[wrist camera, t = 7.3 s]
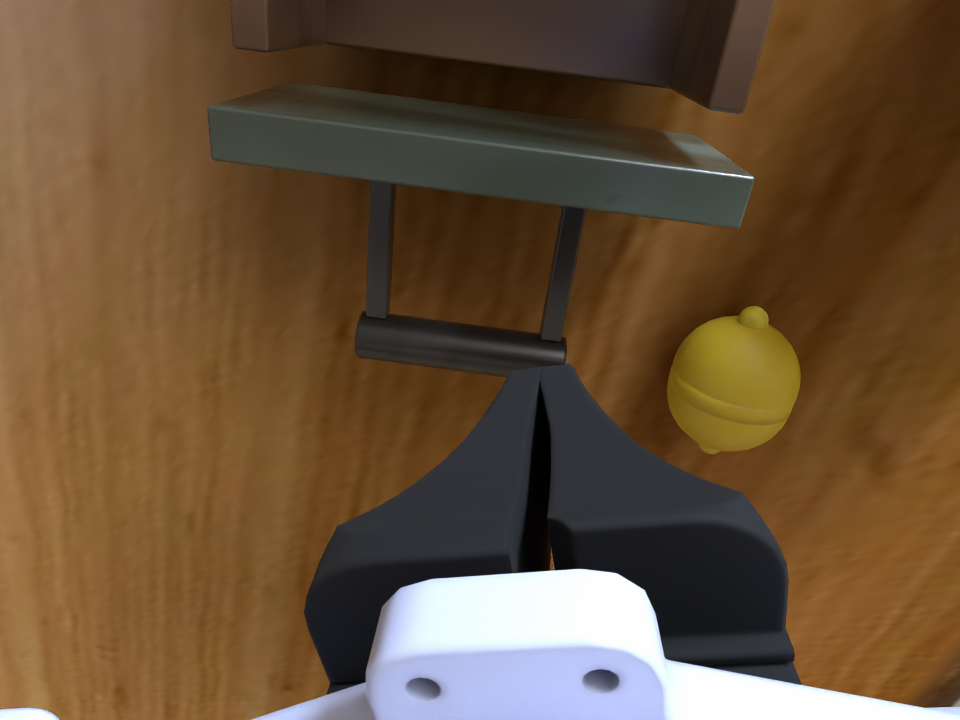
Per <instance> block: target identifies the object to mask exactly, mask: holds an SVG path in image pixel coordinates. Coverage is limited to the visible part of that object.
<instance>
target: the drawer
mask: <svg viewBox="0 0 960 720" xmlns="http://www.w3.org/2000/svg"><path fill="white" fill-rule="evenodd" d="M775 2H776V0H230V3H231V19H232V36H233V46H234V47H235V48H237V49H243V50H251V51H259V52H273V51H280V50H287V49H294V48H301V47H307V46H314V45H321V44H329V45H337V46H345V47H352V48H360V49H368V50H376V51H383V52H391V53H399V54H406V55H414V56H422V57H429V58H437V59H445V60H453V61H460V62H468V63H476V64H483V65H491V66H499V67H506V68H514V69H522V70H529V71H537V72H545V73H553V74H560V75H568V76H576V77H583V78H591V79H599V80H606V81H614V82H622V83H630V84H637V85H645V86H653V87H660V88H668V89H672V90H674V91H676V92H677V93H679V94H681V95H683V96H685V97H687V98H689V99H691V100H692V101H694V102H696V103H698V104H700V105H702V106H704V107H706V108H707V109H709V110H713V111H721V112H728V113H736V114H740V113H742V112H743V111H744V110H745V106H746V103H747V99H748V96H749V92H750V89H751V85H752V82H753V79H754V75H755V72H756V68H757V65H758V61H759V58H760V54H761V51H762V47H763V44H764V40H765V37H766V34H767V30H768V27H769V23H770V20H771V16H772V13H773V9H774V6H775ZM208 121H209V134H210V146H211V157H212V159H213V160H215V161H223V162H230V163H238V164H246V165H253V166H261V167H269V168H276V169H284V170H291V171H299V172H307V173H314V174H322V175H329V176H337V177H345V178H352V179H360V180H368V181H370V201H369V231H368V261H367V292H366V310H365V311H363V312H362V313H361V315H360V317H359V320H358V324H357V329H356V336H355V352H356V356H357V357H359V358H364V359H372V360H379V361H387V362H394V363H402V364H409V365H417V366H424V367H432V368H439V369H447V370H454V371H462V372H469V373H477V374H484V375H492V376H499V377H508V375H509V374H510V373H511V372H512V371H513V370H520V369H529V368H537V367H546V366H555V365H564V364H565V362H566V353H567V341H566V338H565V337H562V333H563V327H564V322H565V317H566V312H567V307H568V302H569V296H570V291H571V286H572V281H573V276H574V271H575V265H576V260H577V255H578V250H579V245H580V240H581V234H582V229H583V224H584V219H585V214H586V209H589V210H596V211H604V212H611V213H619V214H627V215H634V216H642V217H650V218H657V219H665V220H672V221H680V222H688V223H695V224H703V225H710V226H718V227H726V228H733V229H737V228H739V227H740V226H741V223H742V219H743V216H744V213H745V210H746V206H747V203H748V200H749V197H750V194H751V190H752V187H753V184H754V181H755V178H754V177H753V176H752V175H750V174H749V173H748V172H746V171H745V170H744V169H742V168H741V167H739V166H738V165H737V164H735V163H734V162H733V161H731V160H730V159H729V158H727V157H726V156H724V155H723V154H722V153H720V152H719V151H718V150H716V149H715V148H713V147H712V146H711V145H709V144H708V143H707V142H705V141H704V140H703V139H701V138H700V137H698V136H697V135H694V134H686V133H678V132H671V131H663V130H655V129H648V128H640V127H632V126H625V125H617V124H609V123H602V122H594V121H586V120H579V119H571V118H563V117H556V116H548V115H540V114H533V113H525V112H517V111H510V110H502V109H494V108H487V107H479V106H471V105H464V104H456V103H448V102H441V101H433V100H425V99H418V98H410V97H402V96H395V95H387V94H379V93H371V92H364V91H356V90H348V89H341V88H333V87H325V86H318V85H310V84H302V83H295V82H290V83H287V84H283V85H280V86H276V87H273V88H269V89H266V90H262V91H259V92H255V93H252V94H249V95H245V96H242V97H238V98H235V99H231V100H228V101H224V102H221V103H217V104H214V105H210V106H208ZM396 184H398V185H406V186H413V187H421V188H429V189H436V190H444V191H451V192H459V193H467V194H474V195H482V196H490V197H497V198H505V199H512V200H520V201H528V202H535V203H543V204H550V205H558V206H562V207H561V213H560V218H559V224H558V230H557V236H556V241H555V247H554V253H553V258H552V264H551V270H550V276H549V281H548V287H547V293H546V298H545V304H544V310H543V316H542V321H541V327H540V334H539V333H531V332H524V331H516V330H509V329H501V328H494V327H486V326H479V325H471V324H464V323H456V322H449V321H441V320H433V319H426V318H418V317H411V316H403V315H396V314H388V313H389V311H390V297H391V278H392V258H393V239H394V220H395V201H396Z"/></svg>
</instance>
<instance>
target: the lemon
mask: <svg viewBox="0 0 960 720" xmlns="http://www.w3.org/2000/svg"><path fill="white" fill-rule="evenodd" d="M768 321H769V320H768V315H767V313H766V312H765V311H764V310H763V309H762V308H760V307H756V306H751V307H747V308H745V309H744V310H742V311H741V313H740V314H739V316H727V317H721V318H717V319H714V320H711V321H708V322H706V323H704V324H703V325H701V326H699V327H698V328H696V329H695V330H693V331H692V332H691V333H690V334H689V335H688V336H687V337H686V338H685V339H684V341H683V342H682V344H681V345H680V346H679V348H678V350H677V352H676V355H675V357H674V360H673V363H672V366H671V370H670V373H669V378H668V384H667V399H668V404H669V407H670V410H671V413H672V415H673V417H674V419H675V420H676V422H677V424H678V425H679V427H680V428H681V429H682V430H683V431H684V432H685V433H686V434H687V435H688V436H689V437H691V438H692V439H693V440H695V441H696V442H698V444H699V447H700V448H701V449H702V450H703V451H704V452H706V453H708V454H716V453H718V452H720V451H743V450H747V449H751V448H754V447H756V446H759V445H761V444H763V443H765V442H766V441H768V440H769V439H771V438H772V437H773V436H774V435H776V434H777V433H778V431H779V430H780V429H781V428H782V427H783V426H784V424H785V423H786V421H787V419H788V417H789V415H790V413H791V411H792V409H793V406H794V404H795V401H796V399H797V395H798V392H799V388H800V380H801V372H800V366H799V362H798V357H797V355H796V353H795V351H794V349H793V347H792V346H791V344H790V343H789V342H788V340H787V339H786V338H785V337H784V336H783V335H782V334H781V333H780V332H779V331H778V330H776V329H775V328H773V327H772V326H771V325H769V324H768Z"/></svg>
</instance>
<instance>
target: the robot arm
mask: <svg viewBox="0 0 960 720" xmlns="http://www.w3.org/2000/svg"><path fill="white" fill-rule="evenodd" d="M551 547H552V554H553V560H554V567H555V571H550V558H551ZM788 582H789V580H788V572H787V564H786V561H785V559H784V557H783V554H782V552H781V549H780V547H779V545H778V543H777V541H776V540H775V538H774V536H773V535H772V533H771V531H770V530H769V528H768V527H767V525H766V524H765V522H764V521H763V519H762V518H761V516H760V515H759V514H758V512H757V511H756V509H755V508H754V507H753V505H752V504H751V503H750V501H749V500H748V499H747V497H746V496H745V495H744V494H743V493H742V492H739V491H736V490H733V489H730V488H727V487H724V486H721V485H718V484H715V483H712V482H709V481H706V480H703V479H701V478H699V477H697V476H694V475H692V474H690V473H688V472H685V471H683V470H681V469H679V468H677V467H675V466H673V465H671V464H669V463H668V462H666V461H664V460H663V459H661V458H659V457H658V456H656V455H654V454H653V453H651V452H649V451H648V450H646V449H645V448H644V447H642V446H641V445H640V444H638V443H637V442H636V441H635V440H633V439H632V438H631V437H630V436H629V435H627V434H626V433H625V432H624V431H623V430H622V429H621V428H620V427H619V426H618V425H617V424H616V423H615V422H614V421H613V420H612V419H611V418H610V417H609V416H608V415H607V414H606V413H605V412H604V411H603V410H602V409H601V407H600V406H599V405H598V404H597V403H596V401H595V400H594V399H593V398H592V396H591V395H590V394H589V392H588V391H587V390H586V388H585V387H584V385H583V384H582V382H581V381H580V379H579V377H578V375H577V373H576V371H575V368H574V367H572V366H571V365H570V364H564V365H555V366H546V367H537V368H529V369H520V370H513V371H512V372H511V373H510V374H509V375H508V377H507V379H506V381H505V383H504V384H503V386H502V388H501V389H500V391H499V393H498V394H497V396H496V398H495V399H494V401H493V402H492V404H491V405H490V407H489V408H488V409H487V411H486V412H485V414H484V415H483V417H482V418H481V419H480V421H479V422H478V423H477V425H476V426H475V427H474V428H473V430H472V431H471V432H470V433H469V434H468V436H467V437H466V438H465V439H464V441H463V442H462V443H461V444H460V445H459V446H458V447H457V448H456V449H455V450H454V451H453V452H452V453H451V454H450V455H449V456H448V457H447V458H446V459H445V460H444V461H443V462H441V463H440V464H439V465H438V466H437V467H435V468H434V469H433V470H431V471H430V472H429V473H428V474H426V475H425V476H424V477H423V478H421V479H420V480H419V481H417V482H416V483H415V484H413V485H412V486H411V487H409V488H407V489H406V490H404V491H403V492H401V493H400V494H398V495H397V496H395V497H393V498H392V499H390V500H388V501H387V502H385V503H383V504H381V505H380V506H378V507H376V508H374V509H372V510H370V511H368V512H366V513H364V514H362V515H360V516H358V517H356V518H354V519H352V520H350V521H347V522H345V523H343V524H341V525H338V526H337V528H336V530H335V532H334V534H333V536H332V537H331V539H330V541H329V543H328V545H327V547H326V549H325V551H324V553H323V556H322V558H321V560H320V563H319V565H318V568H317V570H316V573H315V576H314V578H313V581H312V583H311V586H310V588H309V591H308V594H307V596H306V603H305V610H304V614H305V618H306V622H307V627H308V630H309V632H310V635H311V637H312V640H313V642H314V644H315V647H316V649H317V652H318V654H319V657H320V659H321V661H322V664H323V666H324V669H325V671H326V674H327V676H328V678H329V681H330V685H329V689H328V692H327V695H325V696H322V697H319V698H316V699H313V700H309V701H306V702H303V703H300V704H297V705H294V706H291V707H288V708H285V709H282V710H279V711H276V712H272V713H269V714H266V715H263V716H260V717H257V718H254V719H251V720H960V707H939V708H922V707H916V706H911V705H906V704H900V703H895V702H890V701H884V700H879V699H874V698H868V697H863V696H858V695H852V694H847V693H842V692H836V691H831V690H826V689H820V688H815V687H810V686H804V685H802V684H801V682H800V679H799V677H798V674H797V672H796V669H795V667H794V664H793V662H792V661H794V656H795V654H794V649H793V646H792V644H791V641H790V639H789V636H788V634H787V631H786V629H785V625H786V611H787V596H788ZM0 720H60V719H59V718H58V717H57V716H56V715H54V714H53V713H51V712H49V711H47V710H44V709H39V708H16V709H0Z"/></svg>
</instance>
